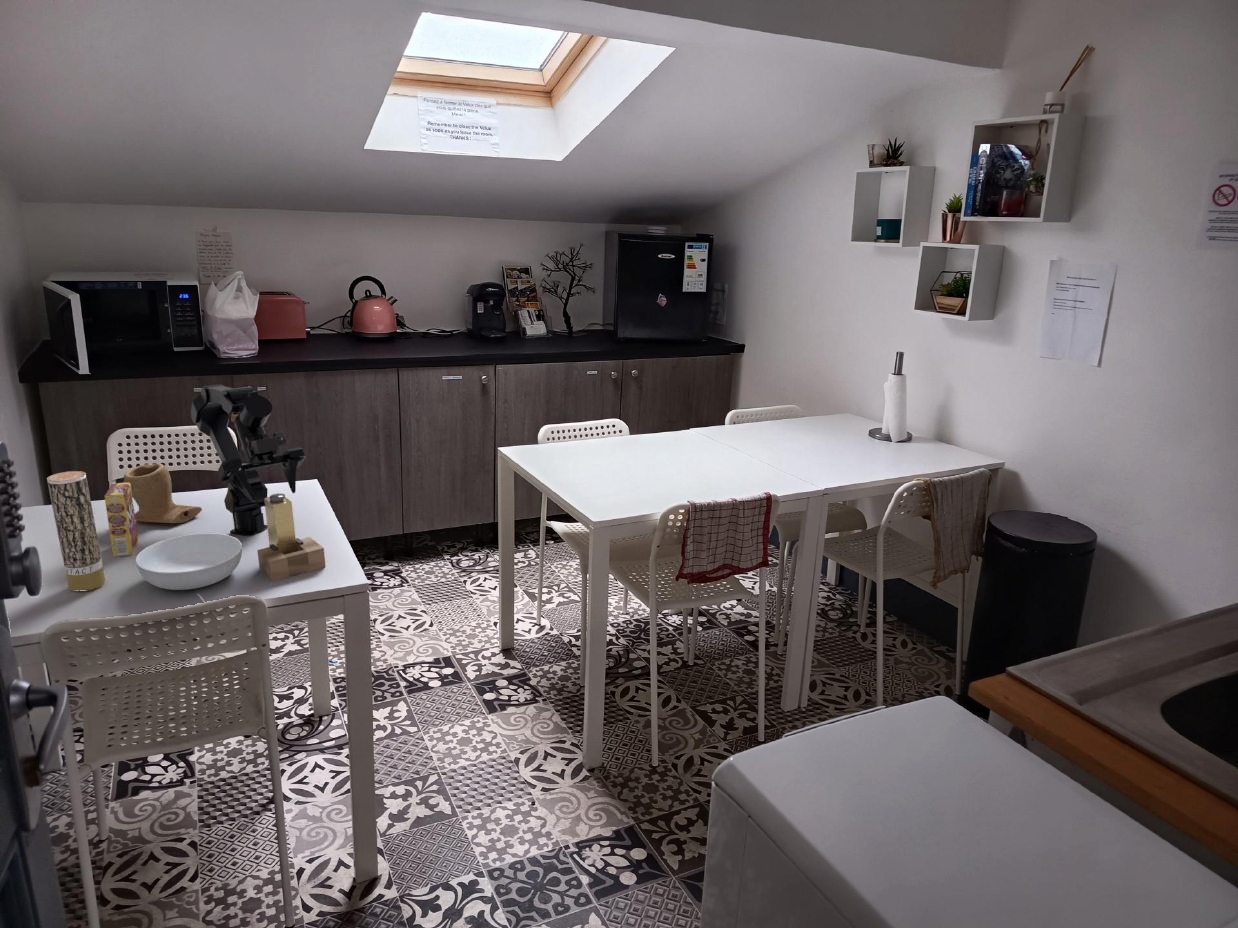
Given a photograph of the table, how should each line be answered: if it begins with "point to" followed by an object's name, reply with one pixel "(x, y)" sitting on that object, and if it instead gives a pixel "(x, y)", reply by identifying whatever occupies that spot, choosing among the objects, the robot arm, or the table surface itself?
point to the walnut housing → (291, 559)
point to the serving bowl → (189, 560)
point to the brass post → (280, 523)
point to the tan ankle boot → (156, 495)
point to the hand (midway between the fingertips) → (274, 496)
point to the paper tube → (76, 530)
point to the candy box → (121, 519)
